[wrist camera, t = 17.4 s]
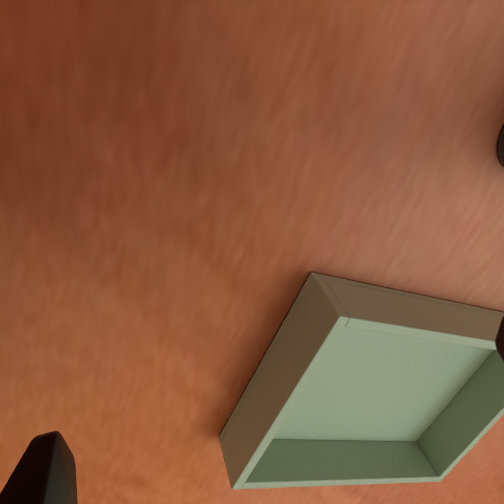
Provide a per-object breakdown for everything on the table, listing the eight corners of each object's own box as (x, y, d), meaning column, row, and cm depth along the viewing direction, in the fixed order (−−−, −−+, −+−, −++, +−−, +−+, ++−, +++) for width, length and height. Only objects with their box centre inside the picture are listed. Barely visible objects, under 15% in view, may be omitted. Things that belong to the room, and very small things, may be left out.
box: (218, 437, 30) (231, 489, 27) (310, 271, 24) (339, 316, 21) (414, 440, 37) (440, 482, 34) (520, 315, 32) (561, 352, 29)
